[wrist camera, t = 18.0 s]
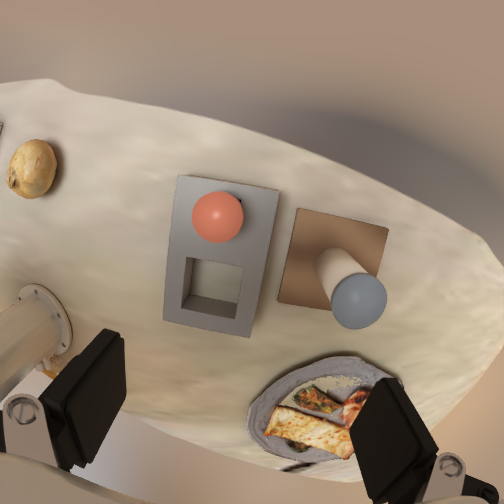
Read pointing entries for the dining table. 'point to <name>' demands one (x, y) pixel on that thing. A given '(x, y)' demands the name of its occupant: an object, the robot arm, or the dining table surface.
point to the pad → (318, 240)
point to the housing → (217, 256)
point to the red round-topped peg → (217, 216)
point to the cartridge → (350, 289)
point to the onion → (32, 169)
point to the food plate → (323, 406)
